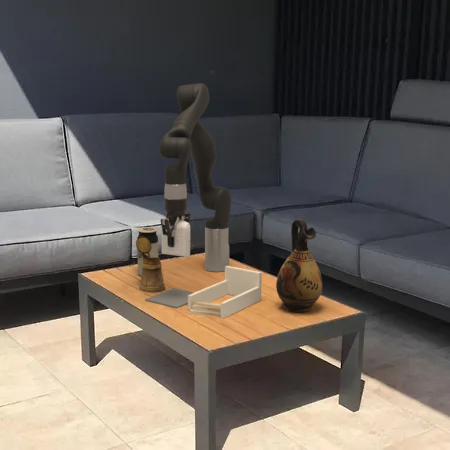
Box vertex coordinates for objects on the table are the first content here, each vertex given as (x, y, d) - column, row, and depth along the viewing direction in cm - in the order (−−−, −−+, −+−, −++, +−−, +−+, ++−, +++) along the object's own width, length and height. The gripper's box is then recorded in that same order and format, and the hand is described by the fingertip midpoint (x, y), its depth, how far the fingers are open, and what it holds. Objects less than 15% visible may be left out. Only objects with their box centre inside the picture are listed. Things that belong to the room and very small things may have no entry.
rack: (226, 292, 257) (227, 265, 255) (261, 300, 249) (261, 272, 247) (188, 309, 239) (187, 280, 237) (223, 318, 231) (223, 288, 229)
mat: (174, 289, 261) (174, 287, 260) (205, 296, 253) (205, 294, 253) (145, 300, 248) (145, 299, 248) (177, 308, 240) (177, 306, 240)
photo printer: (192, 254, 247) (192, 219, 244) (187, 257, 243) (187, 222, 240) (165, 251, 251) (164, 217, 248) (159, 254, 247) (159, 219, 244)
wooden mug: (152, 280, 271) (151, 234, 267) (169, 289, 260) (168, 241, 256) (130, 284, 266) (129, 237, 262) (147, 293, 255) (146, 244, 251)
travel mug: (154, 270, 284) (154, 226, 280) (161, 276, 277) (160, 230, 273) (135, 272, 281) (134, 228, 277) (141, 278, 274) (140, 232, 270)
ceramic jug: (330, 312, 238) (333, 223, 231) (288, 317, 232) (291, 227, 225) (305, 297, 253) (308, 213, 247) (265, 302, 247) (267, 217, 241)
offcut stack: (195, 310, 240) (195, 301, 239) (226, 313, 237) (226, 304, 236) (190, 314, 235) (190, 306, 234) (221, 318, 232) (221, 309, 231)
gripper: (179, 192, 250) (180, 239, 254) (153, 198, 239) (154, 247, 242) (197, 194, 246) (197, 242, 250) (171, 200, 235) (171, 251, 238)
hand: (176, 245), depth 246 cm, fingers closed on photo printer, 5 cm apart
